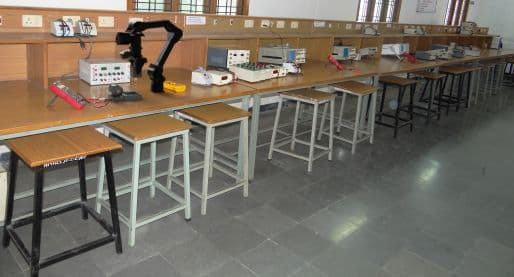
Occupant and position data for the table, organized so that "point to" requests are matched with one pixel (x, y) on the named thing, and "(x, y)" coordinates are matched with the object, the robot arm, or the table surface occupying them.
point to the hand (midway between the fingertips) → (136, 73)
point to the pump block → (134, 72)
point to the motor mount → (122, 94)
